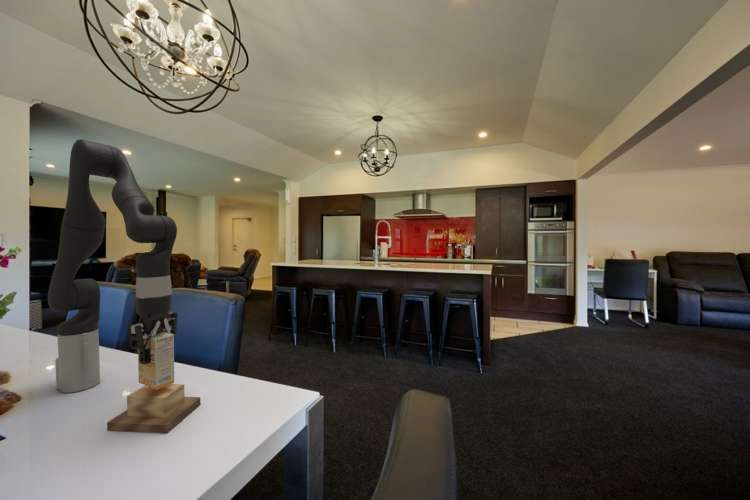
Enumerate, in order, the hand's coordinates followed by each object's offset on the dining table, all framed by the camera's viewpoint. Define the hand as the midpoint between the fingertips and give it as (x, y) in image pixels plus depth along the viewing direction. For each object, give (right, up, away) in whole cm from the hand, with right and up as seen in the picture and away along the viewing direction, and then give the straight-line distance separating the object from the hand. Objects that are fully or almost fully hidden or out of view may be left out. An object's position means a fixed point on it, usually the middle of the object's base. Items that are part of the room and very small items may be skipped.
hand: (155, 357), depth 81 cm
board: (0, -15, +1) cm, 15 cm away
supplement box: (0, -7, 0) cm, 7 cm away
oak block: (0, -13, +1) cm, 13 cm away
